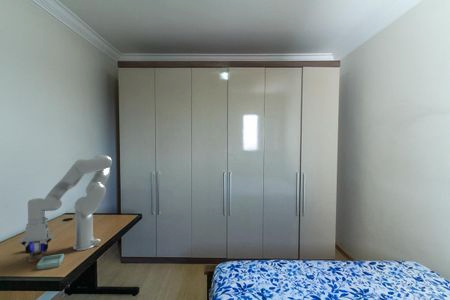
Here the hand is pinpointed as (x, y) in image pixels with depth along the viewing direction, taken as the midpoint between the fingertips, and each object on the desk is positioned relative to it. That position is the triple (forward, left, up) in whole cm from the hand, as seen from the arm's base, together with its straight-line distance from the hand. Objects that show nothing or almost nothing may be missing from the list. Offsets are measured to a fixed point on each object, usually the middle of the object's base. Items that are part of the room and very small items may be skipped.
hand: (37, 251), depth 134 cm
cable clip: (+4, -11, -5) cm, 12 cm away
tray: (-9, +9, -4) cm, 13 cm away
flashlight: (0, 0, -4) cm, 4 cm away
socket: (0, 0, -4) cm, 4 cm away
